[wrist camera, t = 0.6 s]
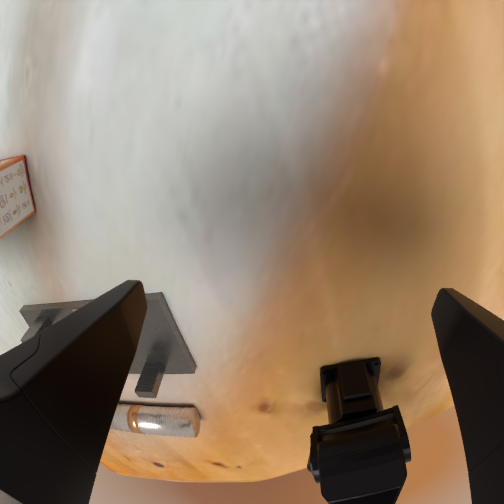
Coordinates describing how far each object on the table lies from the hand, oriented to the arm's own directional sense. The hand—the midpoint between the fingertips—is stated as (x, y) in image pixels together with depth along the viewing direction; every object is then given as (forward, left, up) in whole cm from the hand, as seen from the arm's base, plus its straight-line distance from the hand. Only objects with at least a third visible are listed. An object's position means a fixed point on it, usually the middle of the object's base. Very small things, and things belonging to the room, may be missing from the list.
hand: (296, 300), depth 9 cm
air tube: (-28, +23, -14) cm, 38 cm away
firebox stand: (-14, +22, -14) cm, 29 cm away
